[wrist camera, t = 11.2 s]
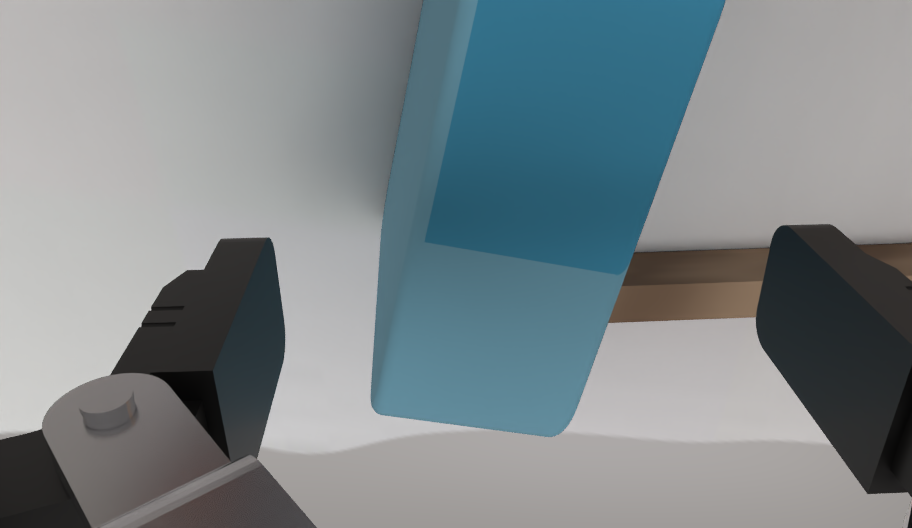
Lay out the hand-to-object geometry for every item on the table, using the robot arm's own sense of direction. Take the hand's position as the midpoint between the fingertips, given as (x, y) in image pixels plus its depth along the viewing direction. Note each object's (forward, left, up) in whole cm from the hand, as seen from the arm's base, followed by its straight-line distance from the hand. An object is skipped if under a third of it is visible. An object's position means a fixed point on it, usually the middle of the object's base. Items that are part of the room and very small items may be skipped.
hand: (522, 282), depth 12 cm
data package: (-1, 0, -15) cm, 15 cm away
